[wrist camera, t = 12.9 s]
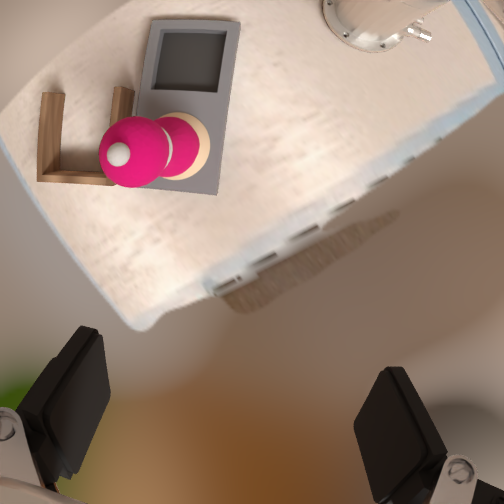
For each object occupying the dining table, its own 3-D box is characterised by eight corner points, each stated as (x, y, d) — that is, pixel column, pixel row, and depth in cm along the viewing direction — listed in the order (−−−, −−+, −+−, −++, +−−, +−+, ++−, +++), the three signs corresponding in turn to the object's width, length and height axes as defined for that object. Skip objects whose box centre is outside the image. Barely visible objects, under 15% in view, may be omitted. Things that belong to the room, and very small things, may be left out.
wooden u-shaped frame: (134, 91, 38) (121, 86, 34) (126, 180, 43) (112, 186, 38) (60, 94, 38) (42, 92, 33) (54, 176, 42) (36, 181, 37)
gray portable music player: (240, 26, 35) (240, 21, 33) (217, 192, 44) (216, 195, 41) (156, 24, 35) (151, 19, 33) (135, 184, 43) (129, 187, 41)
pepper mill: (154, 115, 38) (78, 103, 19) (208, 122, 38) (169, 108, 19) (146, 169, 40) (69, 198, 21) (198, 176, 40) (154, 211, 22)
